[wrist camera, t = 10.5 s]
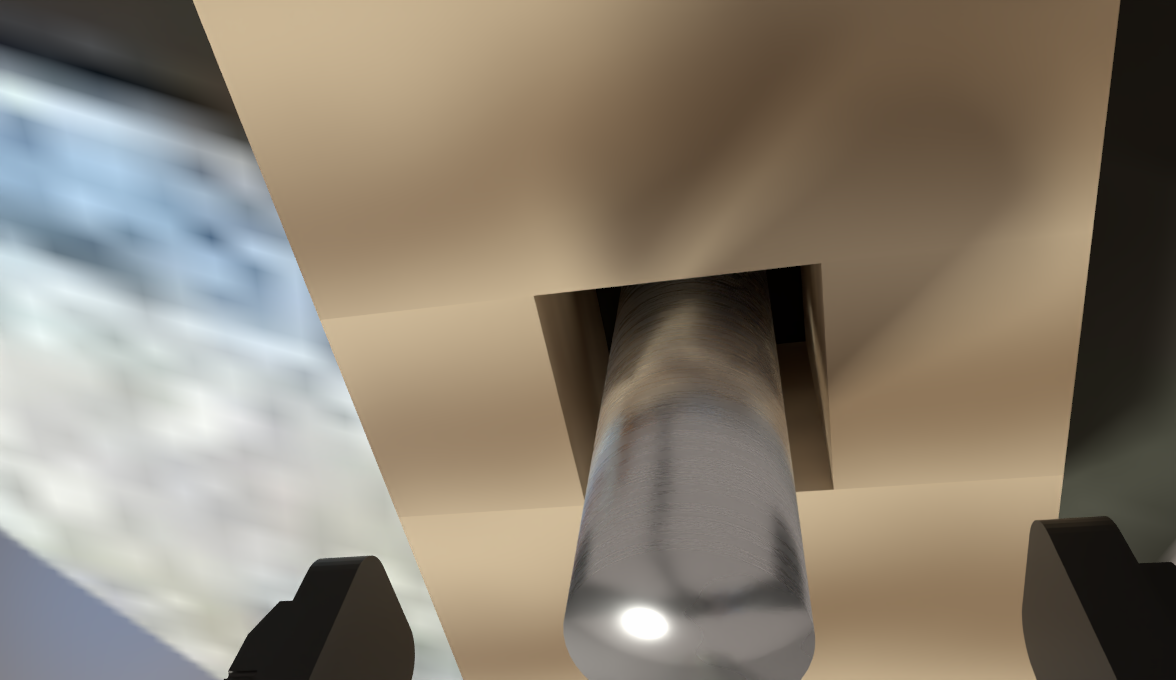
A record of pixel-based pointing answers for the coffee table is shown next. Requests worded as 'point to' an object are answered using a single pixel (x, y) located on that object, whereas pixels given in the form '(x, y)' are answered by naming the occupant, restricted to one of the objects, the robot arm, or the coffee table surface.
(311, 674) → the robot arm
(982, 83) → the hole block
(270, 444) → the coffee table surface
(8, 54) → the coffee table surface
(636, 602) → the peg
